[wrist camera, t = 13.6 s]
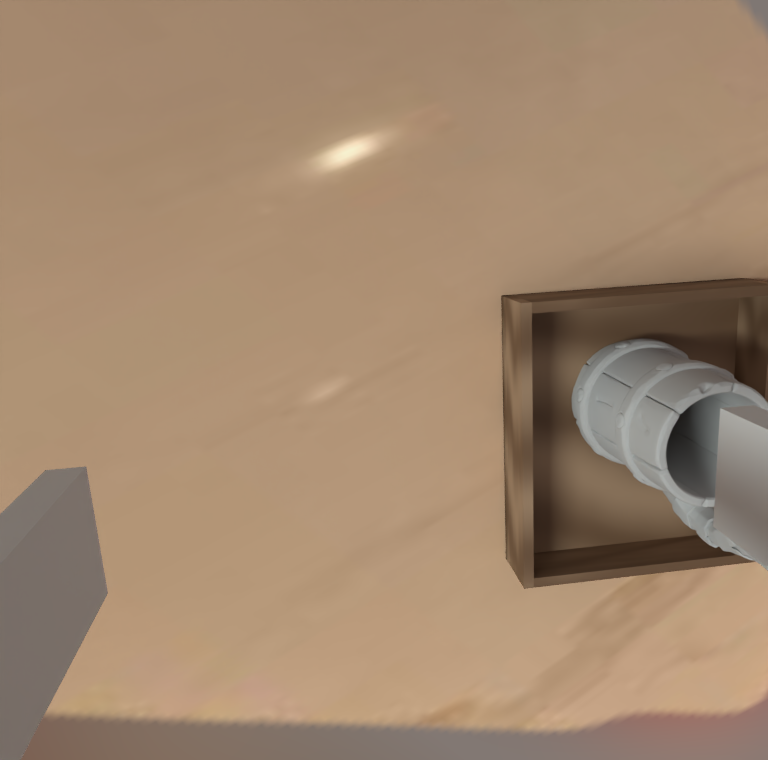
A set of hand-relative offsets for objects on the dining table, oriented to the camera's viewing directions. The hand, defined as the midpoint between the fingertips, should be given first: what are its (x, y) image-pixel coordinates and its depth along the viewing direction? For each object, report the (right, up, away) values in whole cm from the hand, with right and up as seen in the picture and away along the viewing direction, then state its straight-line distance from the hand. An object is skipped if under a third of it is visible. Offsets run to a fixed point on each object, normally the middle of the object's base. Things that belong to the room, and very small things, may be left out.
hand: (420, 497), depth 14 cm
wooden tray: (+14, 0, +29) cm, 33 cm away
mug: (+15, 0, +29) cm, 33 cm away
